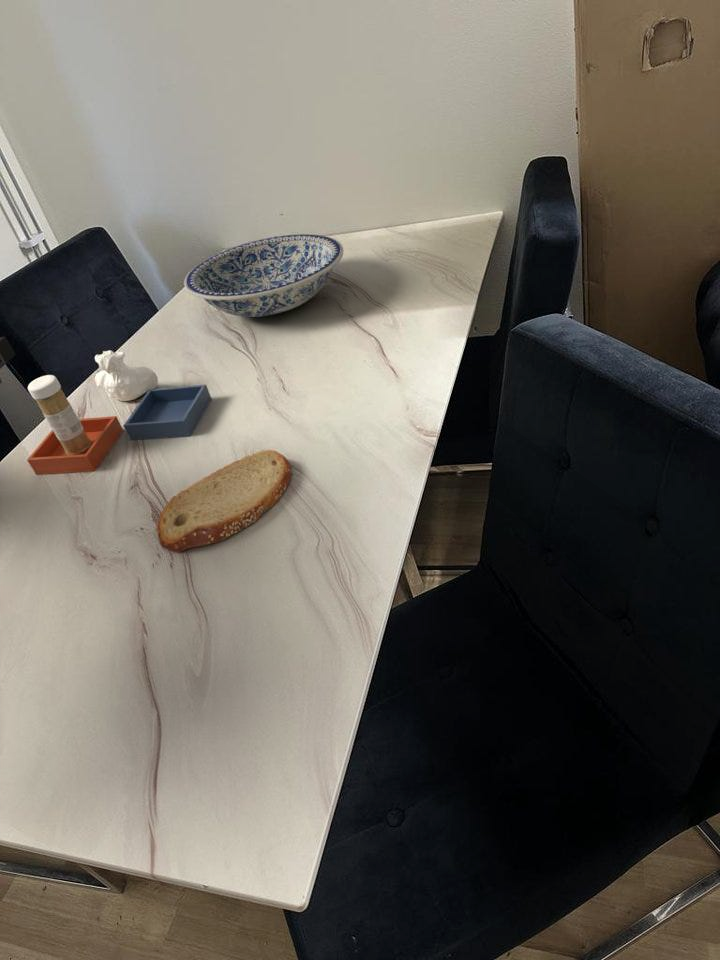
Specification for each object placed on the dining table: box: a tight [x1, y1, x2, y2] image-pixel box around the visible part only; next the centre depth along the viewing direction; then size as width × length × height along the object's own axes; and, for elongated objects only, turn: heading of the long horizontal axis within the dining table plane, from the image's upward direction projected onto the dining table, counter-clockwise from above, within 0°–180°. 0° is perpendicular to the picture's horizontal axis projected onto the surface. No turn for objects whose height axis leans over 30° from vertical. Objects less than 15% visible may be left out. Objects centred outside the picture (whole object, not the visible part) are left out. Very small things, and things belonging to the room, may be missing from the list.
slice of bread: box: [156, 449, 293, 553], centre depth 93 cm, size 18×18×4 cm
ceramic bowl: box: [183, 233, 345, 318], centre depth 143 cm, size 34×34×10 cm
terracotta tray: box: [26, 415, 125, 475], centre depth 112 cm, size 11×11×3 cm
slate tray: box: [122, 384, 212, 441], centre depth 115 cm, size 11×11×3 cm
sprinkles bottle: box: [27, 374, 92, 455], centre depth 109 cm, size 5×5×13 cm
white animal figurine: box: [94, 350, 159, 402], centre depth 122 cm, size 12×8×11 cm
